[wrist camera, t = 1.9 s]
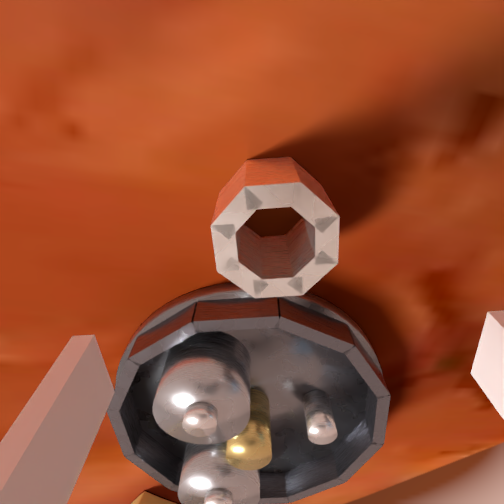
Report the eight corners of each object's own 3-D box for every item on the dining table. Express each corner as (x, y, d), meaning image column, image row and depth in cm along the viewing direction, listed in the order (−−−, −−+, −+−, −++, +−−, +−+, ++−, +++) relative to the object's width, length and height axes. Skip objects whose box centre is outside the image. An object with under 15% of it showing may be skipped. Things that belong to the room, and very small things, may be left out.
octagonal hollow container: (321, 154, 24) (341, 179, 18) (320, 248, 27) (336, 293, 21) (216, 162, 24) (205, 189, 19) (227, 254, 27) (221, 300, 22)
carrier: (391, 272, 28) (434, 336, 21) (368, 462, 39) (392, 544, 32) (88, 291, 29) (38, 359, 22) (151, 471, 40) (130, 553, 33)
